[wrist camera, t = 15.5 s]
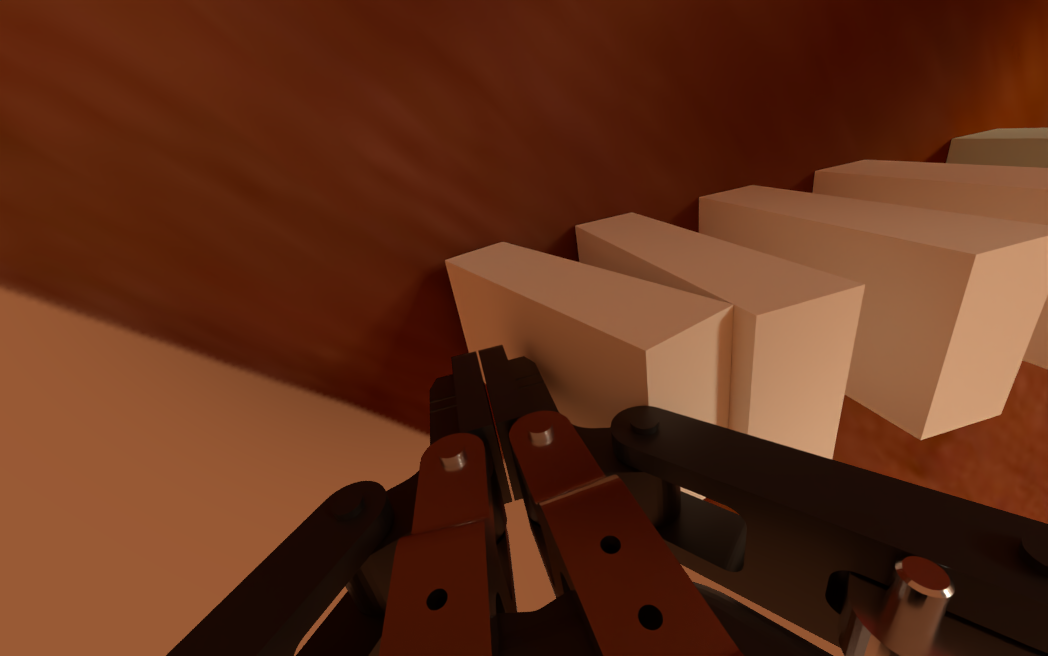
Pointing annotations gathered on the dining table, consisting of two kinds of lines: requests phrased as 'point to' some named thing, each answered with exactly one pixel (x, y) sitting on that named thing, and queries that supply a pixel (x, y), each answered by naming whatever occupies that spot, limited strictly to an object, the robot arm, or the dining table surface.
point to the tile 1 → (597, 334)
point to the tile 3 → (909, 294)
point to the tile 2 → (751, 322)
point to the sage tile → (1002, 148)
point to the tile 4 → (951, 200)
